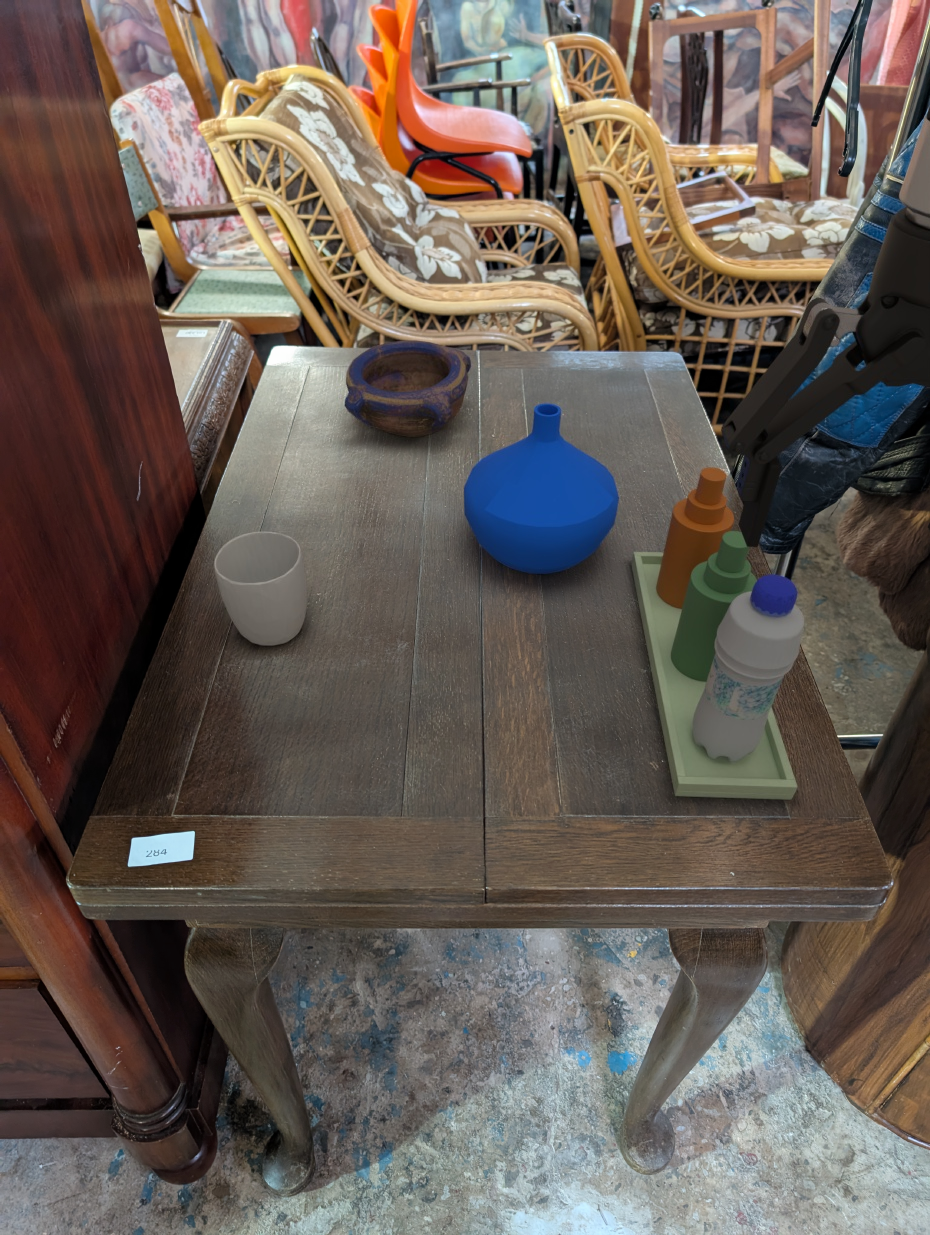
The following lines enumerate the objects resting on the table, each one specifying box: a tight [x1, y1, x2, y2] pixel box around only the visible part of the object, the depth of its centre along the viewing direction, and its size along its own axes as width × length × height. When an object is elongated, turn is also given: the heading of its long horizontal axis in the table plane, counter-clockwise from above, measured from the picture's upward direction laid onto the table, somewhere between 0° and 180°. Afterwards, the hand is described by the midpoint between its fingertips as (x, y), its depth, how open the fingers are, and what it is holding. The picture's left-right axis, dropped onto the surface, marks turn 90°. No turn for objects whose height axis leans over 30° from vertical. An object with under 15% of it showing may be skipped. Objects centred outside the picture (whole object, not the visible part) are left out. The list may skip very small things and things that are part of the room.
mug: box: [213, 531, 308, 647], centre depth 87 cm, size 13×9×10 cm
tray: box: [630, 551, 798, 801], centre depth 84 cm, size 34×11×2 cm, turn 178°
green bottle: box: [671, 530, 758, 682], centre depth 79 cm, size 6×6×16 cm
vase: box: [463, 402, 620, 575], centre depth 93 cm, size 18×18×19 cm
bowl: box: [343, 339, 472, 438], centre depth 118 cm, size 18×18×10 cm
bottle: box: [692, 573, 805, 762], centre depth 69 cm, size 7×7×20 cm
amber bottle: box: [656, 466, 735, 609], centre depth 87 cm, size 6×6×16 cm
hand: (843, 537), depth 57 cm, fingers open, 13 cm apart
